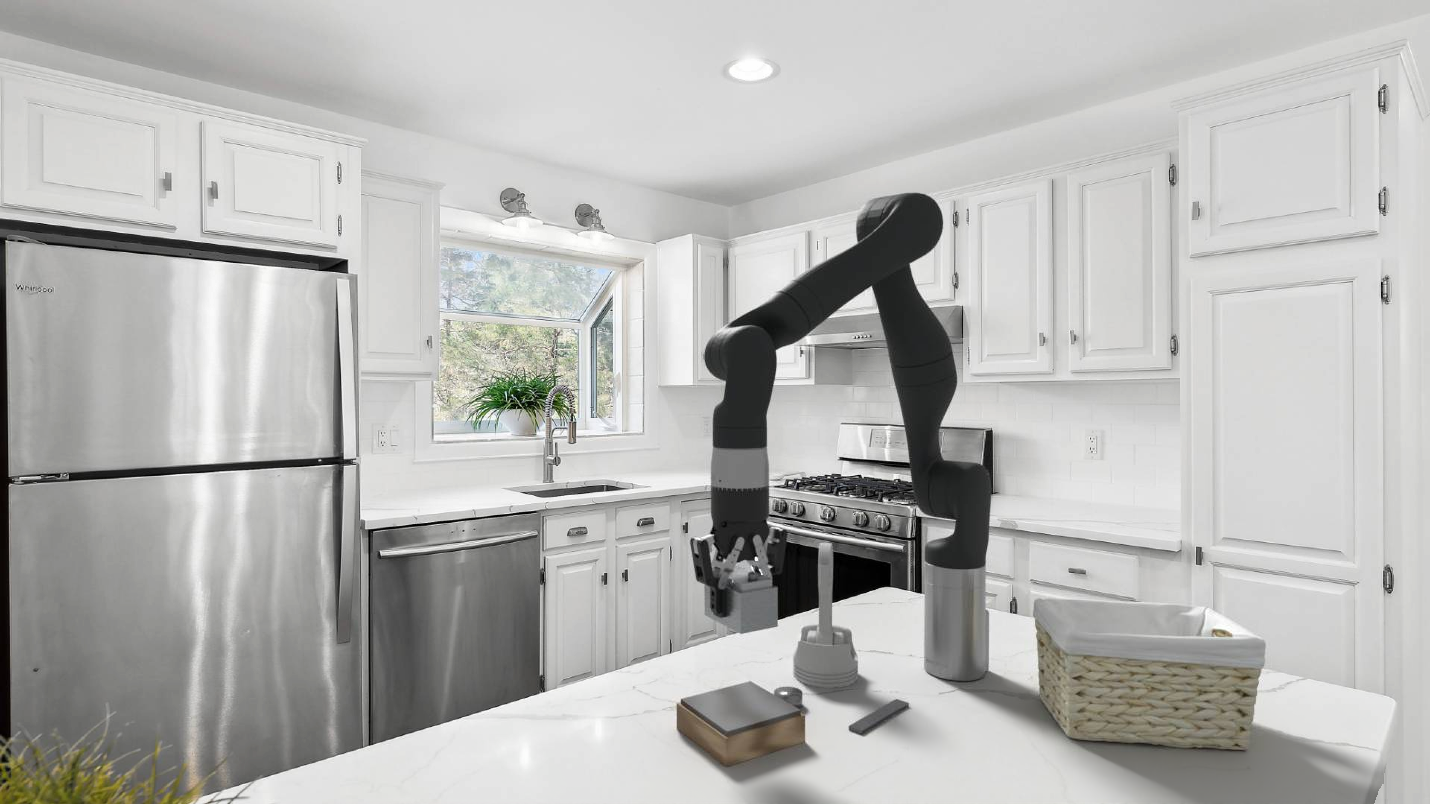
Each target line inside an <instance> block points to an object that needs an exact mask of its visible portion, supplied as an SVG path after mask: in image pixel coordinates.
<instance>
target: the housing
mask: <svg viewBox="0 0 1430 804" xmlns="http://www.w3.org/2000/svg"><path fill="white" fill-rule="evenodd" d="M703 585H704V587H703V588H704V590H703V591H704V616H705V617H707V618H709V619H711V620H713V621H715V622H717V623H719V624H720V625H723V626H724V627H727V628H729V629H731V630H732V631H734V632H736V633H738V634H739V635H743V634H746V633H752V632H753V633H754V632H757V631H758V632H759V631H763V630H769V629H772V628H777V627H778V626H779V624H778V623H779V622H778V621H779V620H778V619H779V617H778V616H779V613H778V612H779V610H778V608H779V606H778V605H779V604H778V603H779V601H778V599H779V597H778V596H779V595H778V592H779V591H778V589H779V588H778V586H776V585H773V579H772V577H771V578H768V577H766V576H763V575H760V574H758V573H756V572H753V571H752V570H749V569H747V568H744V567H742V566H740V565H737V566H736V565H735V568H734V570H733V572H731V573H730V575H729V578H728V581H727V584H726V587H725V588H726V589H727V616H726V617H724V618H719V617H717V616H715V615H714V613H713V612H712V611H711V609H710V587H709V586H707V585H705V584H703Z"/></svg>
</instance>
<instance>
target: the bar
mask: <svg viewBox="0 0 1430 804" xmlns="http://www.w3.org/2000/svg"><path fill="white" fill-rule="evenodd" d="M909 706H910V702H907V701H903V700H901V699H898V698H896V699H893V700H892V701H890V702H888V703H887V704H884V705H883V706H881V707H879V708H878V709H875V710H874V711H872V712H871V713H869V714H867V715H866V716H863V717H862V718H860V719H858V720H857V721H855V722H853V723H851V724H849V725H848V731H850V732H853V733H856V734H859V735H864V734H866V733H867V732H869V731H871V730H873V729H874V728H876V727H877V726H879V725H881V724H882V723H884V722H886V721H887V720H889V719H890V718H893V717H894V716H896V715H897V714H899V713H901V712H902V711H904V710H905V708H906V707H907V708H909ZM907 708H906V709H907ZM901 710H902V711H901ZM900 711H901V712H900ZM895 714H896V715H895ZM893 715H894V716H893ZM885 720H886V721H885Z"/></svg>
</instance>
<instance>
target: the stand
mask: <svg viewBox="0 0 1430 804" xmlns="http://www.w3.org/2000/svg"><path fill="white" fill-rule="evenodd" d="M676 729H677V730H678V731H679V732H681V733H682V734H683V735H684V736H686V737H687V738H688V739H690V741H692V742H694V743H695V744H696V745H697V746H698V747H699V748H701V749H702V750H703V751H705V752H706V753H707V754H709V756H711V757H713V758H714V759H715V760H717V761H718V762H719V763H720V764H722V765H723V766H724V767H726V768H727V767H730V766H734V765H737V764H740V763H743V762H746V761H748V760H752V759H755V758H756V759H757V758H759V757H761V756H765V755H768V754H771V753H773V752H776V751H777V752H778V751H780V750H784V749H787V748H790V747H792V746H795V745H799V744H802V743H805V742H806V714H804V713H802V710H801V709H798V708H796V707H795V706H793V705H791V704H789V703H788V702H786V701H784V700H782V699H781V698H779V697H777V696H775V695H774V693H772V692H770V691H768V690H767V689H765V688H763V687H762V686H760V685H758V684H757V683H755V682H752V681H750V680H749V681H746V682H742V683H739V684H735V685H728V686H726V687H722V688H718V689H714V690H711V691H710V690H709V691H707V692H703V693H698V694H695V695H691V696H686V697H683V698H680V701H679V702H677V703H676Z"/></svg>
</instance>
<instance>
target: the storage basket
mask: <svg viewBox="0 0 1430 804" xmlns="http://www.w3.org/2000/svg"><path fill="white" fill-rule="evenodd" d="M1032 616H1033V618H1034V627H1035V629H1036V634H1035V638H1036V650H1037V662H1038V664H1037V668H1038V685H1039V691H1038V692H1039V698H1040V700H1041V701H1042V702H1043V705H1044V706H1045V707H1046V708H1047V710H1048V712H1049V713H1050V714H1052V718H1053V719H1054V721H1055V722H1056V723H1057V724H1058V725H1059V727H1060V729H1061V730H1062V731H1063V732H1064V733H1065V735H1066V736H1067V737H1069V738H1071V739H1074V740H1081V741H1092V742H1093V741H1094V742H1095V741H1097V742H1100V741H1101V742H1102V741H1104V742H1110V743H1112V742H1115V743H1116V742H1117V743H1126V744H1138V743H1140V744H1141V743H1142V744H1151V745H1155V746H1157V745H1161V746H1163V747H1171V748H1180V749H1189V748H1197V749H1199V748H1200V749H1202V748H1211V749H1215V750H1216V749H1217V750H1235V751H1247V750H1248V749H1249V748H1250V744H1251V743H1250V742H1251V741H1250V738H1251V730H1252V727H1253V724H1252V723H1253V722H1254V715H1255V705H1256V703H1257V696H1258V686H1259V684H1260V680H1259V678H1260V677H1261V674H1262V669H1263V668H1264V667H1265V663H1266V658H1265V655H1266V646H1267V645H1266V641H1265V640H1264V639H1263V638H1262V637H1261V636H1258V635H1257V634H1255V633H1254V632H1252V631H1250V630H1249V629H1247V628H1245V627H1244V626H1242V625H1240V624H1239V623H1236V622H1235V621H1233V620H1232V619H1230V618H1228V617H1226V616H1225V615H1222V614H1221V613H1219V612H1216V611H1215V610H1213V609H1212V608H1209V607H1208V606H1195V605H1188V604H1181V603H1180V604H1178V603H1167V602H1166V603H1163V602H1150V601H1149V602H1148V601H1147V602H1145V601H1124V600H1123V601H1122V600H1121V601H1120V600H1099V599H1087V598H1086V599H1083V598H1043V599H1042V598H1036V599H1034V600H1033V612H1032ZM1214 635H1215V636H1214Z"/></svg>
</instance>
